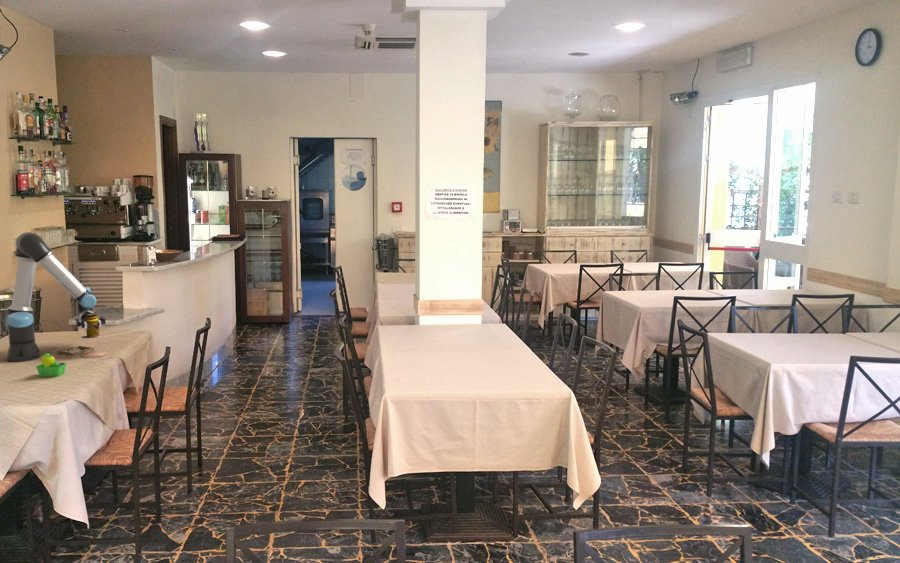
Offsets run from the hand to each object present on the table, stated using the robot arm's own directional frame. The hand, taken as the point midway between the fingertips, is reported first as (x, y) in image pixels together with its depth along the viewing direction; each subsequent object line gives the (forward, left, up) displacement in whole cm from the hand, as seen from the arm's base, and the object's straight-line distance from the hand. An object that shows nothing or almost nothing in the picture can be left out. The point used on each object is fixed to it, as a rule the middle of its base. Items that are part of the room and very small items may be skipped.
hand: (93, 325), depth 386 cm
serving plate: (+2, +5, -17) cm, 17 cm away
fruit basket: (-34, -13, -17) cm, 40 cm away
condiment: (+2, +5, -7) cm, 9 cm away
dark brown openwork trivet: (+2, +20, -17) cm, 26 cm away
